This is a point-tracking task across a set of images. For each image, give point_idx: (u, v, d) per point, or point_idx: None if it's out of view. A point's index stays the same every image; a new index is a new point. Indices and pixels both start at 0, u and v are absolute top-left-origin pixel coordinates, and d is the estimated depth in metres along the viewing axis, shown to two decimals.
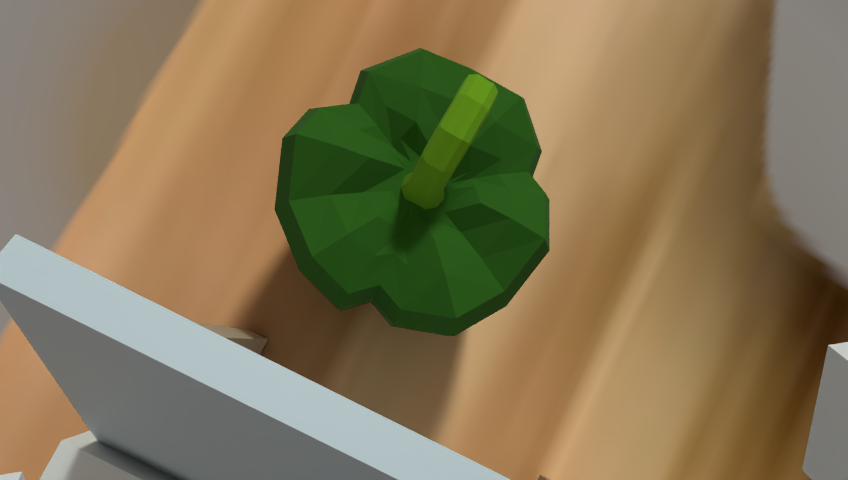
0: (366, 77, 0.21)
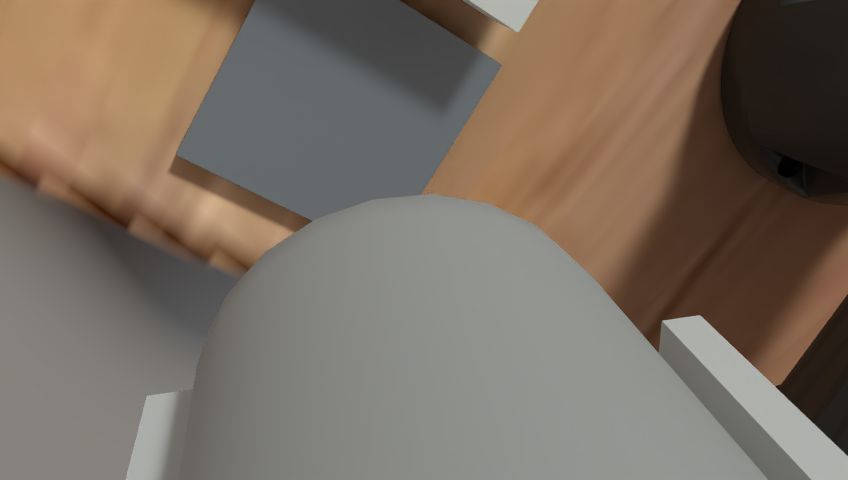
0: None
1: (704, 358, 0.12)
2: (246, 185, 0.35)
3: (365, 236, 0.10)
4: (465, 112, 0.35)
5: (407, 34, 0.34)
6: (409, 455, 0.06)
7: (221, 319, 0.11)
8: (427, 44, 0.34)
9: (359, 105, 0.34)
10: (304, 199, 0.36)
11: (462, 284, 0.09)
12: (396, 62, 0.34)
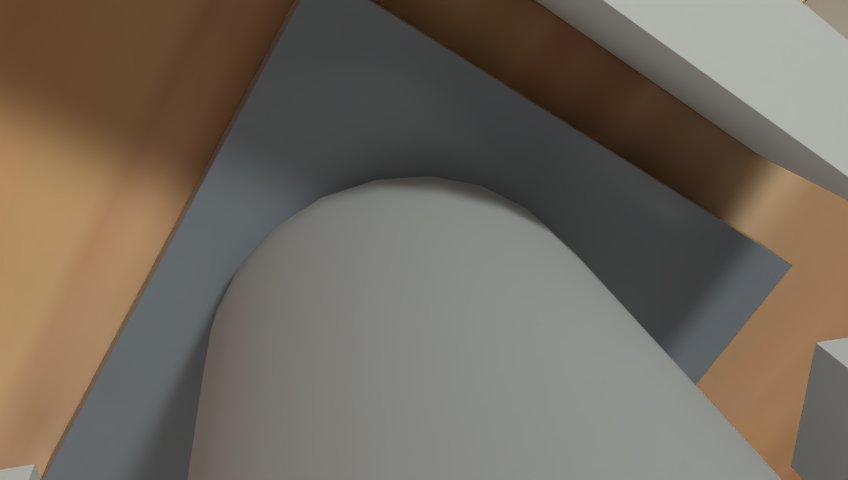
0: None
1: None
2: None
3: (369, 210, 0.11)
4: (699, 363, 0.16)
5: (594, 211, 0.14)
6: (410, 378, 0.07)
7: (235, 286, 0.12)
8: (635, 230, 0.14)
9: None
10: None
11: (457, 247, 0.10)
12: None
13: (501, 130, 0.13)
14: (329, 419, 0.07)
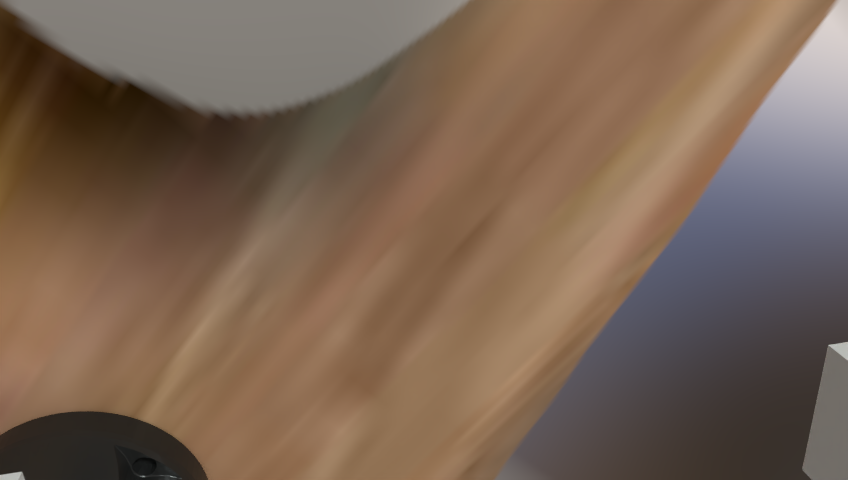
0: None
1: None
2: None
3: None
4: None
5: None
6: None
7: None
8: None
9: None
10: None
11: None
12: None
13: None
14: None
